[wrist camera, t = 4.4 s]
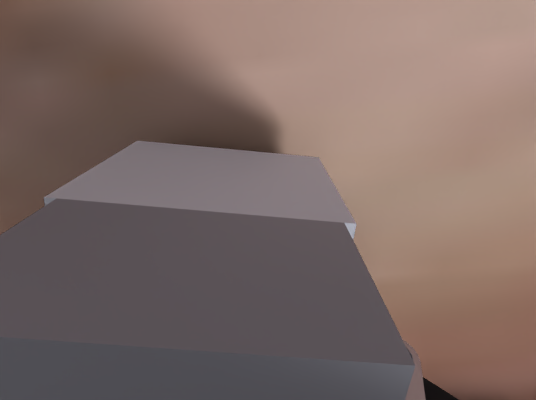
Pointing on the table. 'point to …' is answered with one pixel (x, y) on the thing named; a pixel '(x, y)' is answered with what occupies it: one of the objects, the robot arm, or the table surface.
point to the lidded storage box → (194, 286)
